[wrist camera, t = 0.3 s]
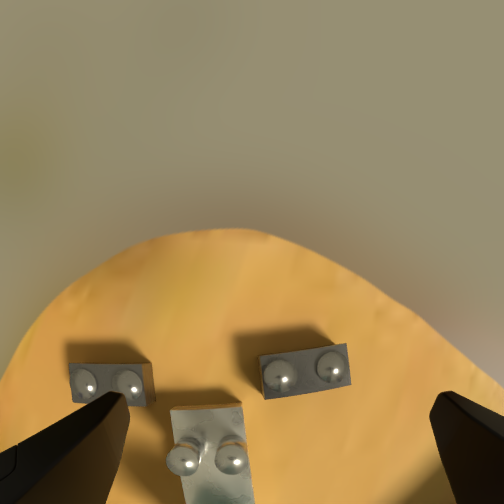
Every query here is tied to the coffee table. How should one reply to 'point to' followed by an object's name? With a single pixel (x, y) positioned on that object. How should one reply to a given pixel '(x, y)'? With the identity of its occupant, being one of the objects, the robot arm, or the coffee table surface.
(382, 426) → the coffee table surface
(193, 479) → the green-topped wooden block
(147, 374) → the grey brick
